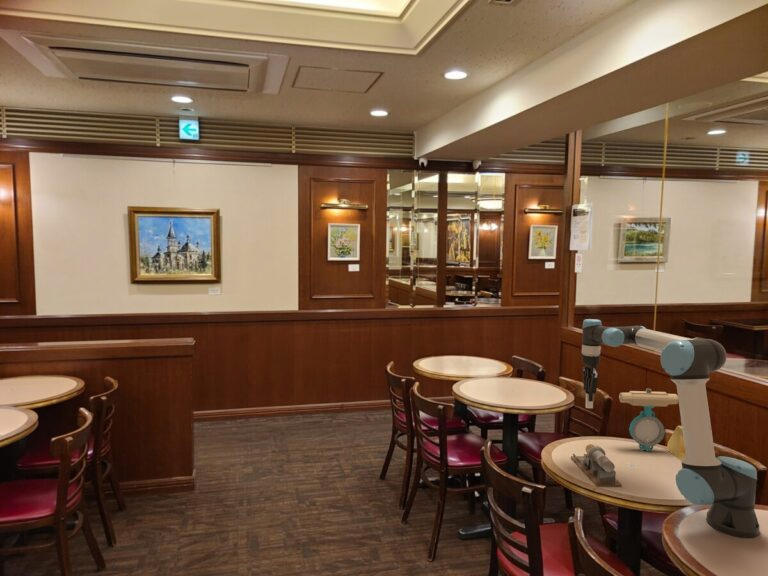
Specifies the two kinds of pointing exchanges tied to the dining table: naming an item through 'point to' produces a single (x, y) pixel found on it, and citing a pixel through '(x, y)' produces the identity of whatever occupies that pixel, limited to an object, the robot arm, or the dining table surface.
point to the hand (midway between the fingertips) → (589, 407)
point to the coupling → (586, 459)
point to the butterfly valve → (647, 416)
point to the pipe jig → (598, 468)
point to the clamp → (677, 443)
